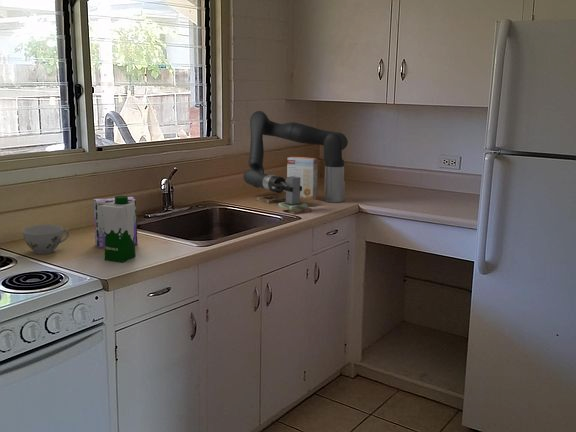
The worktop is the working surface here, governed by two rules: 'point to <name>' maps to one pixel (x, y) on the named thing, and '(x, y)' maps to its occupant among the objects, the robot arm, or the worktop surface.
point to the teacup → (44, 237)
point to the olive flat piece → (285, 204)
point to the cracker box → (304, 174)
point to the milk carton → (119, 229)
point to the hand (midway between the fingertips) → (296, 189)
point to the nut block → (293, 196)
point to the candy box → (100, 220)
